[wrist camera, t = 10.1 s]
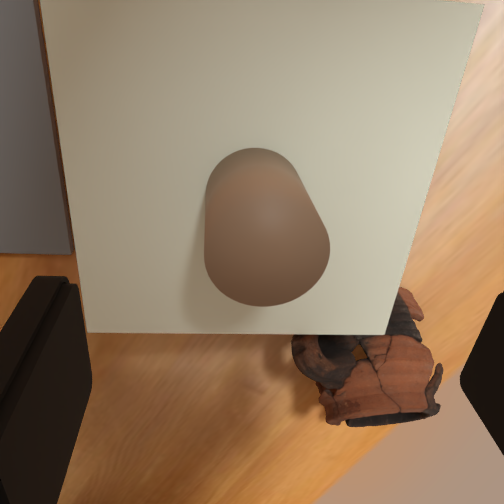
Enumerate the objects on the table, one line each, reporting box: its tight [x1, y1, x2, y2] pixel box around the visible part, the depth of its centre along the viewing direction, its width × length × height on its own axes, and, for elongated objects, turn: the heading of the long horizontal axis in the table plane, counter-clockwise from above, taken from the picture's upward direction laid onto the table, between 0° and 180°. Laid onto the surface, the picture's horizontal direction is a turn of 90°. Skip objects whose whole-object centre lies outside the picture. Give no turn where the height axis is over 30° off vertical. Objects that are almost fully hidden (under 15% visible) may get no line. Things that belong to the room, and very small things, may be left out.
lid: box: [40, 0, 485, 335], centre depth 16 cm, size 15×15×6 cm
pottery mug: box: [291, 287, 443, 427], centre depth 30 cm, size 12×10×8 cm
